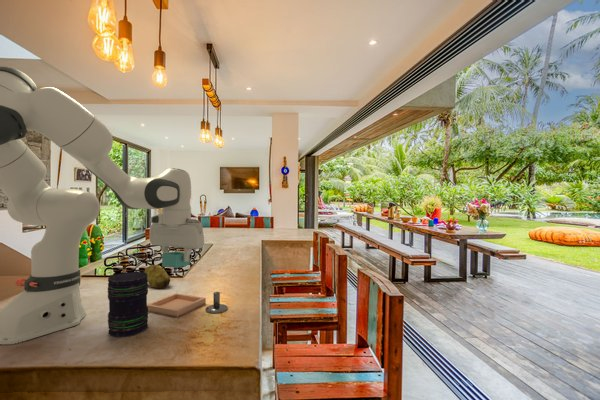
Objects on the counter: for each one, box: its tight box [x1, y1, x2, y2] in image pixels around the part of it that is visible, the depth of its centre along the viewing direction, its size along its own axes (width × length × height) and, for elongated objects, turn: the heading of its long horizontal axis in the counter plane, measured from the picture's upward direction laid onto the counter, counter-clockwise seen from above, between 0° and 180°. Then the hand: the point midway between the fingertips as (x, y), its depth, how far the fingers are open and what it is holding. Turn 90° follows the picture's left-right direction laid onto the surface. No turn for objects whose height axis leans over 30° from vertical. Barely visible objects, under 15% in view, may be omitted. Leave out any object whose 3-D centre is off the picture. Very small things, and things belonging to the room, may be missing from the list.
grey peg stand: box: [205, 291, 229, 314], centre depth 103 cm, size 7×7×6 cm
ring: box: [161, 250, 191, 269], centre depth 104 cm, size 6×6×4 cm
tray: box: [147, 292, 207, 319], centre depth 105 cm, size 13×13×2 cm
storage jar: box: [107, 271, 149, 338], centre depth 88 cm, size 10×10×15 cm
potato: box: [143, 264, 171, 289], centre depth 128 cm, size 8×13×8 cm, turn 36°
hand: (176, 260), depth 104 cm, fingers closed on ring, 6 cm apart
